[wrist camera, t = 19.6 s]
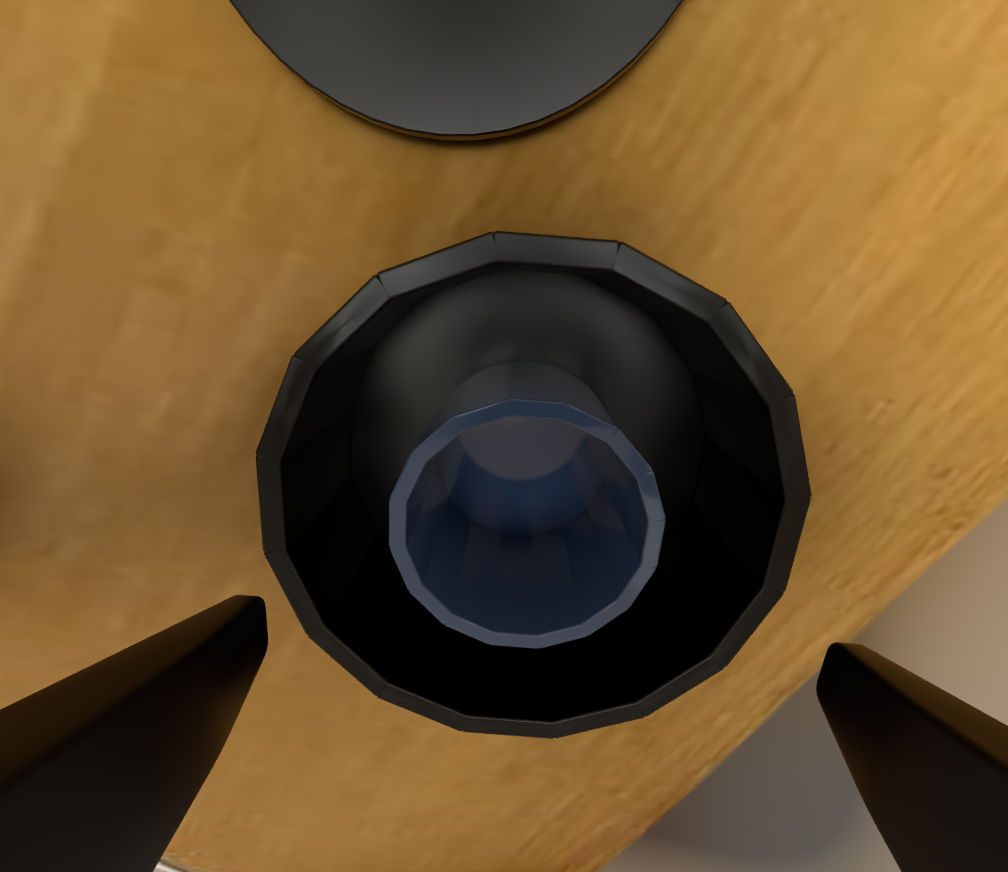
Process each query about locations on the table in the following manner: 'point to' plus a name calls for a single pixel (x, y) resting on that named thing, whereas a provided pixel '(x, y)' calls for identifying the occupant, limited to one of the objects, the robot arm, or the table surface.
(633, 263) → the pot
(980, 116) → the table surface
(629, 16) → the lid
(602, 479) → the cup
